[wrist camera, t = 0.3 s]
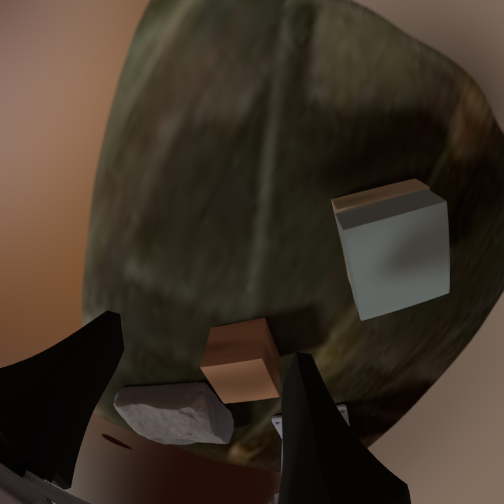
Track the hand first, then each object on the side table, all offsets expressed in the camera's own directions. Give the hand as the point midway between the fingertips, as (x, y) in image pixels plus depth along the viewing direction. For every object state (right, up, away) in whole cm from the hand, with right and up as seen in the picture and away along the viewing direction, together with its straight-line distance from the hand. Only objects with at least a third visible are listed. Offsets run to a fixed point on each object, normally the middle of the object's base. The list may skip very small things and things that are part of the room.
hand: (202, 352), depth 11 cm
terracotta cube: (+1, -3, +13) cm, 13 cm away
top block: (+10, +4, +6) cm, 13 cm away
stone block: (-6, -14, +19) cm, 24 cm away
